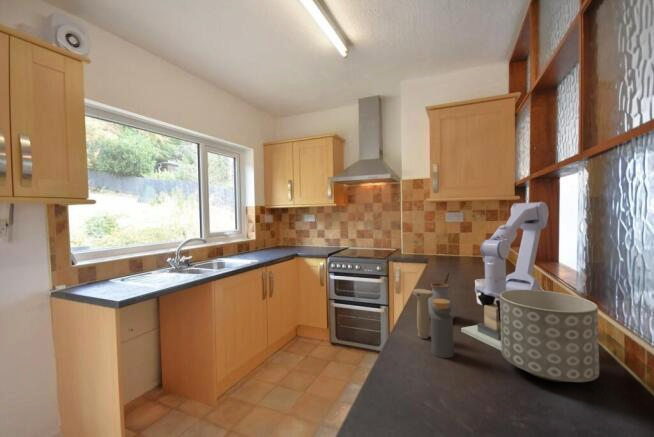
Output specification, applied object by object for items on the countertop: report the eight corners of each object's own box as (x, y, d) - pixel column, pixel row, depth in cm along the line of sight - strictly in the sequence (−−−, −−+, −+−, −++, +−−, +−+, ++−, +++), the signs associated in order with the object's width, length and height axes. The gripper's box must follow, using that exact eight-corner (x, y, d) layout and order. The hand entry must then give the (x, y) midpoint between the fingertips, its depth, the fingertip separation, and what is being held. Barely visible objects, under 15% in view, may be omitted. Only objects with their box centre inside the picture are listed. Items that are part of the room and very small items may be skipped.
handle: (428, 342, 88) (427, 294, 88) (410, 336, 93) (409, 290, 93) (436, 337, 92) (435, 291, 92) (418, 332, 96) (417, 288, 96)
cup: (506, 307, 120) (506, 283, 120) (482, 307, 120) (482, 284, 120) (493, 300, 130) (492, 278, 130) (471, 300, 130) (470, 279, 130)
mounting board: (490, 325, 100) (489, 305, 100) (536, 344, 85) (536, 320, 85) (461, 331, 96) (460, 310, 96) (504, 352, 81) (503, 327, 81)
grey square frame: (498, 327, 96) (498, 319, 96) (520, 335, 89) (520, 327, 89) (477, 331, 93) (477, 323, 93) (498, 340, 86) (498, 332, 86)
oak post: (494, 325, 93) (494, 303, 93) (507, 330, 89) (506, 307, 89) (484, 327, 92) (483, 305, 92) (496, 332, 88) (496, 309, 88)
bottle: (452, 350, 83) (451, 298, 83) (454, 359, 78) (453, 304, 78) (431, 347, 85) (430, 297, 85) (431, 356, 80) (430, 303, 79)
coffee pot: (452, 326, 101) (451, 284, 101) (420, 320, 108) (419, 280, 108) (464, 309, 118) (463, 273, 118) (435, 305, 125) (435, 271, 125)
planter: (608, 407, 57) (606, 317, 57) (498, 378, 68) (497, 303, 68) (591, 365, 73) (589, 295, 73) (503, 348, 84) (502, 286, 84)
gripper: (467, 274, 96) (468, 314, 96) (507, 283, 82) (508, 330, 83) (483, 272, 99) (484, 311, 99) (524, 281, 85) (525, 326, 85)
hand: (496, 319), depth 91 cm, fingers closed on oak post, 4 cm apart
